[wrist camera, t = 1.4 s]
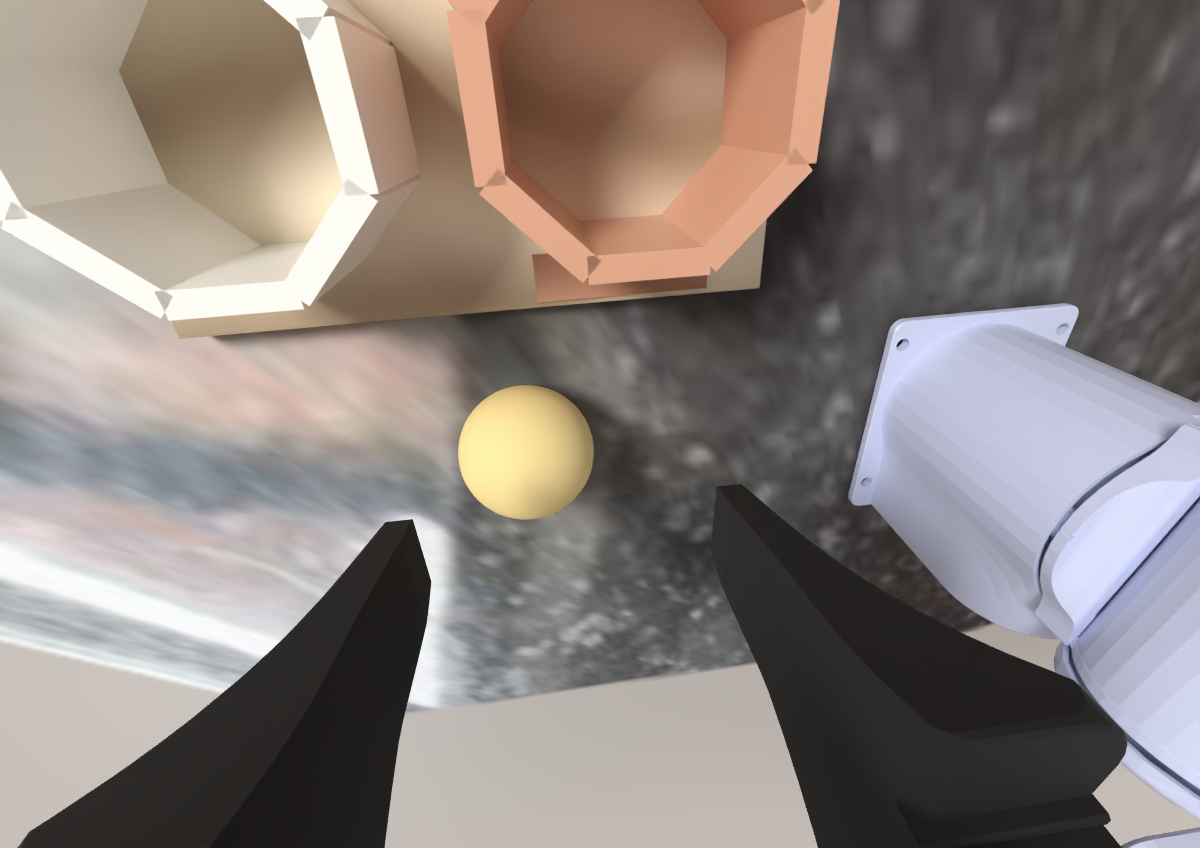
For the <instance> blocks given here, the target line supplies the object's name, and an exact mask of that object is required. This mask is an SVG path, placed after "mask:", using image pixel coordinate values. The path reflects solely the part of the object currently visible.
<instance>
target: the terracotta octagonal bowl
mask: <svg viewBox="0 0 1200 848" xmlns="http://www.w3.org/2000/svg"><path fill="white" fill-rule="evenodd" d="M532 1H533V0H448V2H449V3H450V4H451V6H452V7H453V9H454V10H455V11H447V17H448V24H449V30H450V36H451V42H452V48H453V54H454V61H455V67H456V73H457V79H458V85H459V91H460V97H461V104H462V110H463V116H464V122H465V128H466V134H467V141H468V147H469V153H470V159H471V165H472V171H473V177H474V184H475V187H484V188H483V189H482V190H481V192H480V193H479V195H481V196H482V197H483V198H484V199H485V200H486V201H488V202H489V203H490V204H491V205H492V206H493V207H495V208H496V209H497V210H498V211H499V212H500V213H502V214H503V215H504V216H505V217H506V218H507V219H509V220H510V221H511V222H512V223H513V224H514V225H516V226H517V227H518V228H519V229H520V230H521V231H523V232H524V233H525V234H526V235H527V236H528V237H530V238H531V239H532V240H533V241H534V242H535V243H537V244H538V245H539V246H540V247H541V248H542V249H544V250H545V251H546V252H547V253H548V254H549V255H551V256H552V257H553V258H554V259H555V260H556V261H558V262H559V263H560V264H561V265H562V266H563V267H565V268H566V269H567V270H568V271H569V272H570V273H572V274H573V275H574V276H575V277H576V278H577V279H579V280H580V281H581V282H582V283H583V282H584V281H585V280H586V279H587V281H588V284H589V285H596V284H608V283H620V282H631V281H643V280H655V279H667V278H678V277H690V276H702V275H710V268H712V269H713V270H714V271H715V272H716V271H717V270H718V269H719V268H720V267H721V266H722V265H723V264H724V263H725V262H726V261H727V260H728V259H729V258H730V257H731V256H732V255H733V253H734V252H735V251H736V250H737V249H738V248H739V247H740V246H741V245H742V244H743V243H744V242H745V241H746V240H747V239H748V238H749V237H750V236H751V235H752V234H753V232H754V231H755V230H756V229H757V228H758V227H759V226H760V225H761V224H762V223H763V222H764V221H765V220H766V219H767V218H768V217H769V216H770V215H771V214H772V213H773V211H774V210H775V209H776V208H777V207H778V206H779V205H780V204H781V203H782V202H783V201H784V200H785V199H786V198H787V197H788V196H789V195H790V194H791V193H792V192H793V190H794V189H795V188H796V187H797V186H798V185H799V184H800V183H801V182H802V181H803V180H804V179H805V178H806V177H807V176H808V175H809V174H810V173H811V172H812V171H813V170H812V168H811V167H810V166H809V165H808V164H810V163H816V162H817V155H818V148H819V141H820V134H821V127H822V121H823V114H824V107H825V100H826V93H827V86H828V79H829V72H830V65H831V59H832V52H833V45H834V38H835V31H836V24H837V17H838V10H839V4H840V0H698V1H699V3H700V4H701V5H702V7H703V8H704V9H705V11H706V12H707V13H708V15H709V16H710V17H711V19H712V20H713V21H714V23H715V24H716V25H717V27H718V28H719V29H720V30H721V32H722V33H723V34H724V36H725V37H726V38H727V49H726V65H725V82H724V99H723V116H722V133H721V146H720V147H719V148H718V149H717V151H716V152H715V153H714V154H713V155H712V156H711V157H710V159H709V160H708V161H707V162H706V163H705V164H704V165H703V167H702V168H701V169H700V170H699V171H698V172H697V174H696V175H695V176H694V177H693V178H692V179H691V180H690V182H689V183H688V184H687V185H686V186H685V187H684V188H683V190H682V191H681V192H680V193H679V194H678V195H677V197H676V198H675V199H674V200H673V201H672V202H671V203H670V205H669V206H668V207H667V208H666V209H665V210H664V211H663V213H662V214H661V215H652V216H638V217H625V218H612V219H599V220H586V221H579V220H578V219H577V218H576V217H574V216H573V215H572V214H571V213H570V212H569V211H568V210H567V209H566V208H565V207H564V206H562V205H561V204H560V203H559V202H558V201H557V200H556V199H555V198H554V197H553V196H552V195H551V194H549V193H548V192H547V191H546V190H545V189H544V188H543V187H542V186H541V185H540V184H539V183H537V182H536V181H535V180H534V179H533V178H532V177H531V176H530V175H529V174H528V173H527V172H525V171H524V170H523V169H522V168H521V167H520V166H519V165H518V164H517V163H516V162H515V161H514V160H513V159H512V151H511V143H510V135H509V127H508V119H507V111H506V103H505V95H504V87H503V79H502V71H501V63H500V55H499V50H500V49H501V47H502V46H503V44H504V43H505V41H506V40H507V38H508V37H509V35H510V34H511V32H512V31H513V29H514V28H515V26H516V25H517V23H518V22H519V20H520V19H521V17H522V16H523V14H524V13H525V11H526V10H527V8H528V7H529V5H530V4H531V2H532Z"/></svg>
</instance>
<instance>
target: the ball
mask: <svg viewBox="0 0 1200 848" xmlns="http://www.w3.org/2000/svg"><path fill="white" fill-rule="evenodd" d="M458 458H459V465H460V470H461V473H462V476H463V478H464V481H465V483H466V485H467V487H468V488H469V490H470V491H471V492H472V494H473V495H474V496H475V497H476V498H477V500H478V501H479V502H481V503H482V504H483V505H484V506H486V507H487V508H489V509H490V510H492V511H494V512H496V513H498V514H500V515H503V516H505V517H510V518H515V519H536V518H542V517H545V516H549V515H551V514H554V513H556V512H558V511H559V510H561V509H562V508H564V507H565V506H567V505H568V504H569V503H571V502H572V501H573V500H574V499H575V498H576V497H577V496H578V494H579V493H580V492H581V490H582V489H583V487H584V486H585V484H586V482H587V480H588V478H589V475H590V472H591V469H592V464H593V458H594V445H593V438H592V435H591V432H590V428H589V426H588V424H587V421H586V419H585V418H584V416H583V415H582V413H581V412H580V410H579V409H578V408H577V407H576V406H575V405H574V404H573V403H572V402H571V401H569V400H568V399H567V398H566V397H564V396H563V395H561V394H560V393H558V392H555V391H553V390H551V389H548V388H545V387H540V386H533V385H519V386H513V387H509V388H505V389H502V390H500V391H497V392H495V393H494V394H492V395H490V396H489V397H487V398H486V399H485V400H483V401H482V402H481V403H480V404H479V405H478V406H477V407H476V408H475V409H474V410H473V412H472V413H471V414H470V416H469V417H468V419H467V421H466V423H465V424H464V427H463V430H462V433H461V436H460V440H459V447H458Z"/></svg>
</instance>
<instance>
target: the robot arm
mask: <svg viewBox="0 0 1200 848" xmlns="http://www.w3.org/2000/svg"><path fill="white" fill-rule="evenodd" d="M1078 313H1079V311H1078V308H1077V307H1076V306H1074V305H1071V304H1066V303H1063V304H1052V305H1041V306H1031V307H1020V308H1009V309H999V310H988V311H977V312H967V313H956V314H945V315H934V316H924V317H913V318H903V319H900V320H898V321H896V322H895V323H894V324H893V325H892V326H891V327H890V330H889V333H888V337H887V341H886V345H885V349H884V353H883V357H882V361H881V365H880V369H879V373H878V377H877V381H876V385H875V389H874V393H873V397H872V401H871V405H870V409H869V414H868V418H867V422H866V426H865V430H864V434H863V438H862V442H861V446H860V450H859V454H858V458H857V462H856V466H855V470H854V474H853V478H852V482H851V486H850V490H849V494H848V498H849V500H850V501H851V502H852V504H853V505H856V506H861V505H870V504H872V506H873V507H874V508H875V509H876V510H877V511H878V513H879V514H880V515H881V516H882V517H883V518H884V519H885V521H886V522H887V523H888V524H889V525H890V526H891V527H892V529H893V530H894V531H895V532H896V533H897V534H898V535H899V536H900V538H901V539H902V540H903V541H904V542H905V543H906V544H907V546H908V547H909V548H910V549H911V550H912V551H913V552H914V554H915V555H916V556H917V557H918V558H919V559H920V560H921V561H922V563H923V564H924V565H925V566H926V567H927V568H928V569H929V571H930V572H931V573H932V574H933V575H934V576H935V577H936V579H937V580H938V581H939V582H940V583H941V584H942V585H943V586H944V588H945V589H946V590H947V591H948V592H949V593H950V594H951V595H953V596H954V597H955V598H956V599H957V600H958V601H960V602H961V603H962V604H963V605H965V606H966V607H968V608H969V609H971V610H972V611H974V612H975V613H977V614H979V615H980V616H982V617H984V618H986V619H988V620H990V621H991V622H993V623H995V624H997V625H1000V626H1002V627H1005V628H1007V629H1009V630H1012V631H1015V632H1018V633H1021V634H1026V635H1030V636H1034V637H1041V638H1049V639H1060V640H1061V641H1062V642H1061V643H1060V644H1059V646H1058V647H1057V650H1056V653H1055V657H1054V668H1055V672H1056V673H1055V672H1052V671H1050V670H1047V669H1045V668H1042V667H1040V666H1037V665H1035V664H1032V663H1030V662H1027V661H1025V660H1022V659H1020V658H1017V657H1015V656H1012V655H1009V654H1007V653H1004V652H1003V651H1000V650H998V649H996V648H993V647H991V646H989V645H987V644H985V643H982V642H980V641H978V640H976V639H973V638H971V637H969V636H967V635H965V634H963V633H961V632H959V631H957V630H955V629H952V628H950V627H948V626H946V625H944V624H942V623H940V622H938V621H936V620H934V619H933V618H931V617H929V616H927V615H925V614H923V613H921V612H919V611H918V610H916V609H914V608H912V607H910V606H908V605H906V604H905V603H903V602H901V601H899V600H898V599H896V598H894V597H892V596H891V595H889V594H887V593H886V592H884V591H882V590H881V589H879V588H877V587H876V586H874V585H873V584H871V583H869V582H868V581H866V580H864V579H863V578H861V577H860V576H858V575H857V574H855V573H854V572H852V571H851V570H849V569H848V568H846V567H845V566H843V565H842V564H840V563H839V562H838V561H836V560H835V559H833V558H832V557H831V556H829V555H828V554H826V553H825V552H824V551H822V550H821V549H820V548H818V547H817V546H816V545H814V544H813V543H812V542H810V541H809V540H808V539H806V538H805V537H804V536H803V535H801V534H800V533H799V532H798V531H796V530H795V529H794V528H793V527H791V526H790V525H789V524H788V523H786V522H785V521H784V520H783V519H782V518H780V517H779V516H778V515H777V514H776V513H775V512H773V511H772V510H771V509H770V508H769V507H767V506H766V505H765V504H764V503H763V502H762V501H760V500H759V499H758V498H757V497H756V496H755V495H753V494H752V493H751V492H750V491H749V490H748V489H746V488H745V487H744V486H743V485H742V484H739V485H730V486H720V487H717V489H716V500H715V511H714V521H713V532H712V542H711V551H712V555H713V558H714V562H715V565H716V568H717V572H718V575H719V578H720V581H721V584H722V587H723V589H724V592H725V594H726V596H727V599H728V601H729V603H730V605H731V608H732V610H733V612H734V614H735V616H736V619H737V621H738V623H739V625H740V627H741V630H742V632H743V634H744V636H745V638H746V641H747V643H748V645H749V647H750V649H751V652H752V654H753V656H754V658H755V660H756V663H757V665H758V667H759V669H760V672H761V674H762V676H763V679H764V681H765V684H766V686H767V689H768V691H769V694H770V697H771V700H772V703H773V706H774V709H775V711H776V715H777V718H778V720H779V723H780V726H781V729H782V732H783V735H784V738H785V741H786V744H787V748H788V750H789V754H790V757H791V760H792V763H793V766H794V769H795V772H796V775H797V778H798V782H799V785H800V788H801V792H802V795H803V798H804V802H805V805H806V808H807V812H808V815H809V818H810V822H811V825H812V828H813V831H814V835H815V839H816V842H817V846H818V848H1200V828H1193V829H1188V830H1181V831H1176V832H1170V833H1164V834H1158V835H1152V836H1147V837H1143V838H1139V839H1135V840H1133V841H1130V842H1128V843H1126V844H1124V845H1122V846H1120V845H1119V844H1118V843H1117V841H1116V840H1115V839H1114V838H1113V836H1112V835H1111V834H1110V833H1109V831H1108V830H1107V829H1106V828H1105V827H1104V825H1106V824H1108V823H1109V822H1110V821H1111V819H1110V816H1109V813H1108V812H1107V811H1106V810H1105V809H1104V808H1103V806H1102V805H1101V804H1100V803H1099V802H1098V800H1097V799H1096V798H1095V797H1094V795H1093V794H1092V793H1093V792H1094V791H1095V790H1096V789H1097V787H1098V786H1099V785H1100V784H1101V783H1102V782H1103V781H1104V780H1105V779H1106V777H1108V775H1109V774H1110V773H1111V772H1112V771H1113V770H1114V769H1115V768H1116V767H1117V766H1118V764H1119V763H1121V764H1122V765H1123V766H1124V767H1125V768H1127V769H1128V770H1129V771H1130V772H1131V773H1132V774H1134V775H1135V776H1136V777H1137V778H1139V779H1140V780H1141V781H1142V782H1143V783H1145V784H1146V785H1148V786H1149V787H1150V788H1151V789H1153V790H1154V791H1155V792H1157V793H1158V794H1159V795H1161V796H1162V797H1164V798H1165V799H1167V800H1168V801H1170V802H1171V803H1173V804H1174V805H1176V806H1177V807H1179V808H1181V809H1182V810H1184V811H1185V812H1187V813H1189V814H1191V815H1192V816H1194V817H1196V818H1198V819H1199V820H1200V404H1198V403H1196V402H1193V401H1191V400H1189V399H1186V398H1184V397H1182V396H1179V395H1177V394H1175V393H1172V392H1170V391H1167V390H1165V389H1163V388H1160V387H1158V386H1156V385H1153V384H1151V383H1149V382H1146V381H1144V380H1142V379H1139V378H1137V377H1135V376H1132V375H1130V374H1128V373H1125V372H1123V371H1121V370H1118V369H1116V368H1114V367H1111V366H1109V365H1107V364H1104V363H1102V362H1100V361H1097V360H1095V359H1093V358H1090V357H1088V356H1086V355H1083V354H1081V353H1079V352H1076V351H1074V350H1072V349H1069V348H1067V347H1065V344H1066V342H1067V340H1068V338H1069V335H1070V333H1071V331H1072V328H1073V326H1074V324H1075V322H1076V319H1077V317H1078ZM1058 327H1059V328H1058ZM1057 328H1058V329H1057ZM902 339H903V342H902V343H901V344H900V345H899V346H898V347H896V345H897V343H898V342H899V341H900V340H902ZM865 478H866V479H865ZM863 479H865V480H864V481H862V480H863ZM430 589H431V579H430V576H429V573H428V569H427V566H426V563H425V559H424V556H423V553H422V549H421V546H420V542H419V539H418V536H417V532H416V529H415V526H414V522H413V519H411V520H402V521H393V522H385V524H384V525H383V526H382V527H381V528H380V529H379V531H378V532H377V533H376V534H375V535H374V537H373V538H372V539H371V540H370V541H369V543H368V544H367V545H366V546H365V548H364V549H363V550H362V551H361V552H360V554H359V555H358V556H357V557H356V558H355V560H354V561H353V562H352V563H351V565H350V566H349V567H348V568H347V569H346V571H345V572H344V573H343V574H342V575H341V576H340V578H339V579H338V580H337V581H336V582H335V583H334V584H333V586H332V587H331V588H330V589H329V590H328V591H327V593H326V594H325V595H324V596H323V597H322V598H321V599H320V601H319V602H318V603H317V604H316V605H315V606H314V607H313V608H312V609H311V610H310V611H309V612H308V613H307V614H306V616H305V617H304V618H303V619H302V620H301V621H300V622H299V623H298V624H297V625H296V626H295V627H294V628H293V629H292V630H291V631H290V632H289V633H288V634H287V635H286V636H285V637H284V638H283V639H282V640H281V641H280V642H279V643H278V644H277V645H276V646H275V647H274V648H273V649H272V650H271V651H270V652H269V653H268V654H267V655H266V656H265V657H263V658H262V659H261V660H260V661H259V662H258V663H257V664H256V665H255V666H254V667H253V668H251V669H250V670H249V671H248V672H247V673H246V674H245V675H244V676H243V677H241V678H240V679H239V680H238V681H237V682H235V683H234V684H233V685H232V686H231V687H229V688H228V689H227V690H226V691H225V692H223V693H222V694H221V695H220V696H219V697H218V698H216V699H215V700H214V701H212V702H211V703H210V704H209V705H208V706H206V707H205V708H204V709H203V710H202V711H200V712H199V713H198V714H197V715H196V716H194V717H193V718H192V719H191V720H189V721H188V722H187V723H186V724H184V725H183V726H182V727H180V728H179V729H178V730H176V731H175V732H174V733H172V734H171V735H170V736H168V737H167V738H166V739H164V740H163V741H162V742H161V743H159V744H158V745H156V746H155V747H154V748H152V749H151V750H149V751H148V752H147V753H145V754H144V755H143V756H141V757H140V758H138V759H137V760H136V761H135V762H133V763H132V764H130V765H129V766H128V767H126V768H125V769H123V770H122V771H120V772H119V773H117V774H116V775H115V776H113V777H112V778H110V779H109V780H107V781H106V782H104V783H103V784H101V785H100V786H98V787H97V788H95V789H94V790H92V791H91V792H89V793H88V794H86V795H85V796H84V797H82V798H80V799H79V800H77V801H76V802H74V803H73V804H71V805H70V806H68V807H67V808H65V809H64V810H62V811H61V812H59V813H58V814H56V815H55V816H53V817H52V818H50V819H49V820H47V821H46V822H44V823H42V824H41V825H40V826H38V827H36V828H35V829H33V830H31V831H30V832H29V833H28V834H27V836H26V837H25V839H24V840H23V841H22V843H21V844H20V845H19V847H18V848H384V847H385V839H386V831H387V823H388V815H389V807H390V800H391V792H392V785H393V778H394V771H395V764H396V757H397V750H398V743H399V738H400V733H401V728H402V723H403V719H404V715H405V711H406V707H407V702H408V698H409V694H410V690H411V686H412V682H413V678H414V674H415V670H416V666H417V662H418V658H419V654H420V649H421V645H422V641H423V637H424V633H425V628H426V624H427V616H428V608H429V599H430Z"/></svg>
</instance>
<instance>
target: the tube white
mask: <svg viewBox="0 0 1200 848" xmlns="http://www.w3.org/2000/svg"><path fill="white" fill-rule="evenodd" d="M264 1H265V2H266V3H267V4H269V5H270V6H271V7H272V8H273V9H274V10H275V11H277V12H278V13H279V14H280V15H281V16H282V17H284V18H285V19H286V20H287V21H288V22H289V23H291V24H292V25H293V26H294V27H295V28H296V29H297V30H299V31H300V34H301V38H302V41H303V45H304V49H305V52H306V56H307V59H308V63H309V66H310V70H311V73H312V77H313V80H314V84H315V88H316V91H317V95H318V98H319V102H320V105H321V109H322V112H323V116H324V119H325V123H326V127H327V130H328V134H329V137H330V141H331V144H332V148H333V151H334V155H335V158H336V162H337V166H338V169H339V173H340V176H341V180H342V183H343V187H342V189H341V191H340V192H339V194H338V196H337V197H336V199H335V200H334V202H333V204H332V205H331V207H330V208H329V210H328V212H327V213H326V215H325V217H324V218H323V220H322V221H321V223H320V225H319V226H318V228H317V230H316V231H315V233H314V234H313V236H312V238H311V239H310V241H309V242H297V243H284V244H271V245H260V244H259V243H257V242H256V241H254V240H253V239H251V238H250V237H248V236H247V235H245V234H244V233H242V232H241V231H239V230H238V229H236V228H235V227H233V226H232V225H230V224H229V223H227V222H226V221H224V220H223V219H221V218H220V217H218V216H217V215H215V214H214V213H212V212H211V211H209V210H208V209H206V208H205V207H203V206H202V205H200V204H199V203H197V202H196V201H194V200H193V199H191V198H190V197H188V196H187V195H185V194H184V193H182V192H181V191H179V190H178V189H176V188H175V187H173V186H172V185H170V184H169V183H168V182H167V180H166V177H165V175H164V173H163V170H162V168H161V166H160V164H159V161H158V159H157V157H156V155H155V152H154V150H153V148H152V146H151V143H150V141H149V139H148V136H147V134H146V132H145V130H144V127H143V125H142V123H141V121H140V118H139V116H138V114H137V111H136V109H135V107H134V105H133V102H132V100H131V98H130V96H129V93H128V91H127V89H126V86H125V84H124V82H123V80H122V77H121V75H120V73H119V69H120V67H121V64H122V62H123V60H124V57H125V55H126V52H127V50H128V48H129V45H130V43H131V40H132V38H133V36H134V33H135V31H136V28H137V26H138V24H139V21H140V19H141V16H142V14H143V12H144V9H145V7H146V4H147V2H148V0H0V221H2V220H4V222H3V225H2V227H1V229H3V230H5V231H7V232H9V233H10V234H12V235H14V236H16V237H17V238H19V239H21V240H23V241H24V242H26V243H28V244H30V245H31V246H33V247H35V248H37V249H39V250H40V251H42V252H44V253H46V254H47V255H49V256H51V257H53V258H54V259H56V260H58V261H60V262H62V263H63V264H65V265H67V266H69V267H70V268H72V269H74V270H76V271H77V272H79V273H81V274H83V275H85V276H86V277H88V278H90V279H92V280H93V281H95V282H97V283H99V284H100V285H102V286H104V287H106V288H107V289H109V290H111V291H113V292H115V293H116V294H118V295H120V296H122V297H123V298H125V299H127V300H129V301H130V302H132V303H134V304H136V305H138V306H139V307H141V308H143V309H145V310H146V311H148V312H150V313H152V314H153V315H155V316H157V317H159V318H160V319H162V318H164V317H166V316H167V318H168V320H169V321H172V320H184V319H196V318H208V317H219V316H231V315H243V314H255V313H266V312H278V311H290V310H302V309H305V308H306V307H308V306H311V305H312V304H313V303H314V302H315V301H317V300H318V299H319V298H320V297H321V296H322V295H324V294H325V293H326V292H327V291H328V290H330V289H331V288H332V287H333V286H334V285H336V284H337V283H338V282H339V281H340V280H341V279H343V278H344V277H345V276H346V275H347V274H349V273H350V272H351V271H352V270H353V269H355V268H356V267H357V266H358V265H359V264H360V263H362V262H363V261H364V260H365V259H366V258H367V257H368V256H369V254H370V253H371V251H372V250H373V248H374V247H375V245H376V244H377V242H378V241H379V239H380V238H381V236H382V235H383V233H384V232H385V230H386V229H387V227H388V226H389V224H390V223H391V221H392V220H393V218H394V217H395V215H396V214H397V212H398V211H399V209H400V208H401V206H402V205H403V203H404V202H405V200H406V199H407V197H408V196H409V194H410V193H411V191H412V190H413V188H414V187H415V185H416V184H417V182H418V181H419V178H418V177H417V176H416V175H418V174H421V172H420V167H419V163H418V158H417V153H416V148H415V143H414V139H413V134H412V129H411V124H410V120H409V115H408V110H407V105H406V100H405V96H404V91H403V86H402V81H401V77H400V72H399V67H398V62H397V57H396V53H395V48H394V47H393V46H391V45H389V43H390V40H389V39H388V38H387V37H386V36H385V35H384V34H383V33H382V32H381V31H380V30H378V29H377V28H376V27H375V26H374V25H373V24H372V23H371V22H370V21H369V20H368V19H367V18H366V17H364V16H363V15H362V14H361V13H360V12H359V11H358V10H357V9H356V8H355V7H354V6H353V5H351V4H350V3H349V2H348V1H347V0H264Z"/></svg>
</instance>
